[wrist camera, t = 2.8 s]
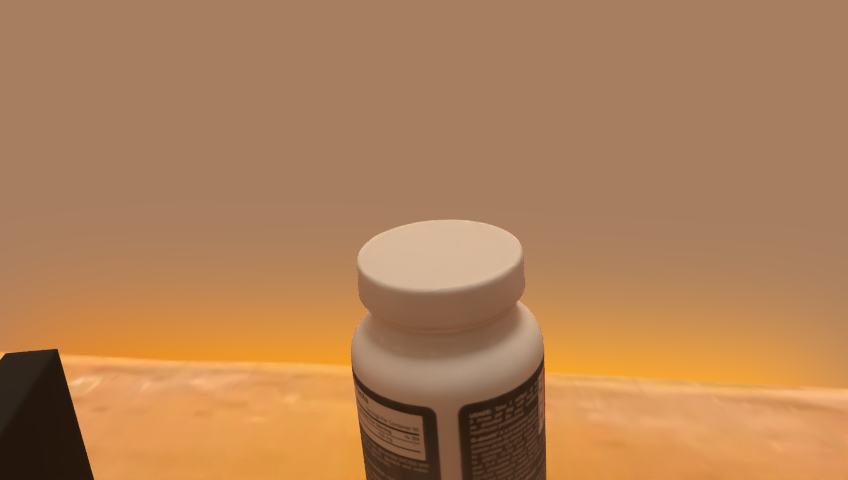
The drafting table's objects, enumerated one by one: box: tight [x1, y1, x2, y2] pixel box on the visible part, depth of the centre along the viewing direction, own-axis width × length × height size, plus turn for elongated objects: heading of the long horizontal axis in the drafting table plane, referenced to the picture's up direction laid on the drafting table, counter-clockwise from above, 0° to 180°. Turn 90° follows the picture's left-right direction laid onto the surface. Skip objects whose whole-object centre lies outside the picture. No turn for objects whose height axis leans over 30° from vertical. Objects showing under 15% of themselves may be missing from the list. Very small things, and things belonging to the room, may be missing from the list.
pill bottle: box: [351, 220, 546, 480], centre depth 24 cm, size 6×6×10 cm
